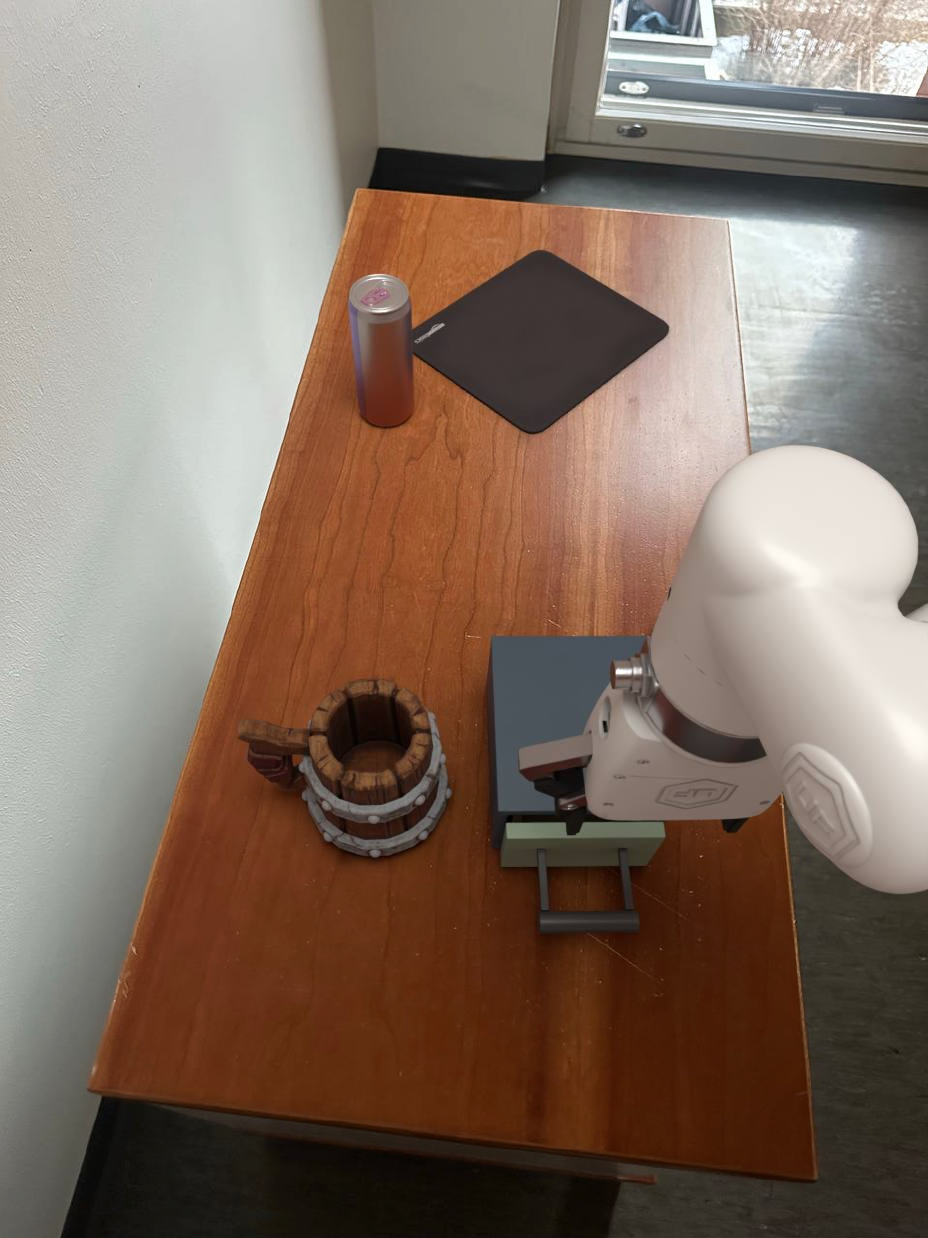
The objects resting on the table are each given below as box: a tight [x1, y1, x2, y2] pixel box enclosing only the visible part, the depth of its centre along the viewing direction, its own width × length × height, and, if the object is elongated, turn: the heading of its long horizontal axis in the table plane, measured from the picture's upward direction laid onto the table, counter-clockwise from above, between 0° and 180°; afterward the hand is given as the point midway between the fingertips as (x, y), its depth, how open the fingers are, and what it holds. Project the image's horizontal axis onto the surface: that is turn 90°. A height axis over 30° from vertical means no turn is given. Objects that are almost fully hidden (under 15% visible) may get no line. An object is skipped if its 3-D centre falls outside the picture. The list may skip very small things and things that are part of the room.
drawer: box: [499, 814, 667, 935], centre depth 68 cm, size 19×11×7 cm, turn 1°
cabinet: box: [485, 635, 667, 850], centre depth 71 cm, size 15×13×9 cm
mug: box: [237, 677, 453, 858], centre depth 67 cm, size 12×14×15 cm
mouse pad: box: [412, 249, 670, 434], centre depth 103 cm, size 25×21×1 cm
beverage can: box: [347, 273, 415, 428], centre depth 90 cm, size 6×6×15 cm
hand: (647, 810), depth 55 cm, fingers open, 9 cm apart
